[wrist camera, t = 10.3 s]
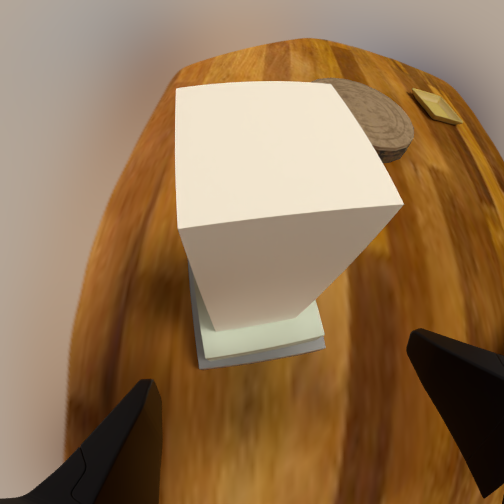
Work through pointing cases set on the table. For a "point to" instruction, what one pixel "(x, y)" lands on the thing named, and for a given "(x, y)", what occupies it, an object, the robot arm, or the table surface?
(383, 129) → the wood slice
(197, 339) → the tower base slab
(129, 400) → the robot arm
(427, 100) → the yellow flat square tray
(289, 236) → the cream pillar
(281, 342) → the tower top slab
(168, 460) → the table surface
